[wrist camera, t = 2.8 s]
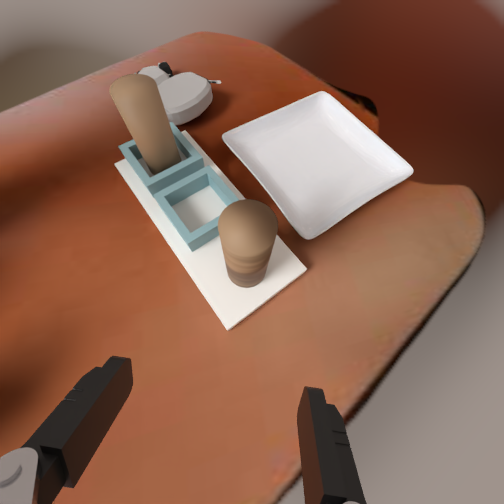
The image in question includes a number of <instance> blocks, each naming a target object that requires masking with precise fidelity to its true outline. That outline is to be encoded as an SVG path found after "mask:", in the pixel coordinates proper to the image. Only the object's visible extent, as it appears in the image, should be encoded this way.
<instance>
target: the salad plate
mask: <svg viewBox="0 0 504 504" xmlns="http://www.w3.org/2000/svg"><path fill="white" fill-rule="evenodd" d="M222 139H223V141H224V142H225V144H226V145H227V146H228V147H229V148H230V149H231V151H232V152H233V153H234V154H235V155H236V156H237V157H238V158H239V159H240V160H241V162H242V163H243V164H244V165H245V166H246V167H247V168H248V169H249V171H250V172H251V173H252V174H253V175H254V176H255V178H256V179H257V180H258V181H259V183H260V184H261V185H262V186H263V188H264V189H265V190H266V191H267V192H268V194H269V195H270V196H271V198H272V199H273V200H274V202H275V203H276V204H277V206H278V207H279V209H280V210H281V212H282V213H283V214H284V216H285V217H286V219H287V220H288V221H289V223H290V224H291V225H292V227H293V228H294V229H295V230H296V231H297V233H298V234H299V235H300V236H301V237H303V238H304V239H313V238H315V237H317V236H318V235H320V234H322V233H323V232H325V231H326V230H328V229H329V228H331V227H332V226H333V225H335V224H336V223H338V222H339V221H340V220H342V219H343V218H345V217H346V216H347V215H349V214H350V213H352V212H353V211H355V210H356V209H358V208H359V207H360V206H362V205H363V204H365V203H366V202H368V201H370V200H371V199H373V198H374V197H376V196H378V195H379V194H381V193H383V192H384V191H386V190H388V189H390V188H391V187H393V186H395V185H397V184H398V183H400V182H402V181H403V180H405V179H407V178H408V177H410V176H411V175H412V174H413V171H414V170H413V168H412V167H411V166H410V165H409V164H408V163H407V162H406V161H405V160H404V159H403V158H401V156H399V155H398V154H397V153H396V152H395V151H394V150H392V149H391V148H390V147H389V146H388V145H387V144H386V143H384V142H383V141H382V140H381V139H380V138H379V137H378V136H377V135H376V134H374V133H373V132H372V131H371V130H370V129H369V128H368V127H366V126H365V125H364V124H363V123H362V122H361V121H360V120H358V119H357V118H356V117H355V116H354V115H353V114H352V113H351V112H349V111H348V110H347V109H346V108H345V107H344V106H343V105H342V104H340V103H339V102H338V101H337V100H336V99H335V98H334V97H332V96H331V95H330V94H328V93H326V92H324V91H321V92H317V93H315V94H312V95H310V96H308V97H306V98H303V99H301V100H299V101H297V102H294V103H292V104H290V105H287V106H285V107H283V108H281V109H278V110H276V111H274V112H271V113H269V114H267V115H264V116H262V117H260V118H258V119H255V120H253V121H250V122H248V123H246V124H244V125H241V126H239V127H237V128H234V129H232V130H230V131H228V132H226V133H224V134H223V135H222Z"/></svg>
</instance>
